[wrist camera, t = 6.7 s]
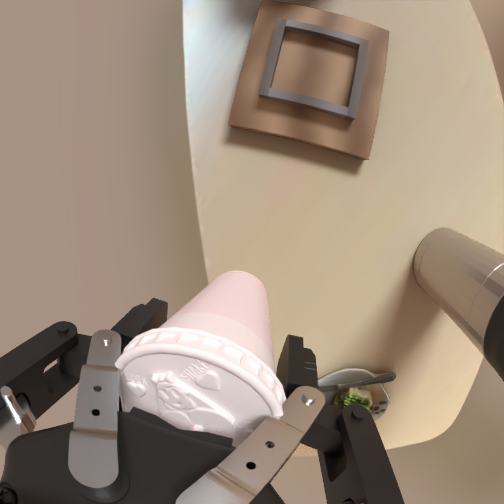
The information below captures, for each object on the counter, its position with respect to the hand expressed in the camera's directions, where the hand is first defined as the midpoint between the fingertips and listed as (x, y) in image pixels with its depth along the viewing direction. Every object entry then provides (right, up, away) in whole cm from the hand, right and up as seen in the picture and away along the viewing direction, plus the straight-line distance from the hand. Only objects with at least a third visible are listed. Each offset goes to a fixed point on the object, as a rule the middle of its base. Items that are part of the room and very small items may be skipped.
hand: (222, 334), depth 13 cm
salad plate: (+15, -21, +28) cm, 38 cm away
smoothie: (+1, +1, +4) cm, 4 cm away
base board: (+9, +25, +14) cm, 30 cm away
